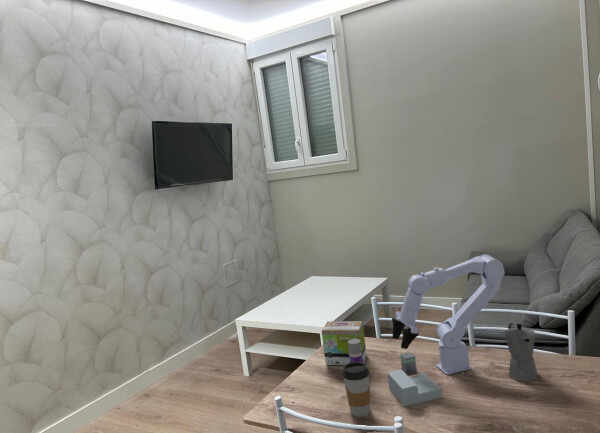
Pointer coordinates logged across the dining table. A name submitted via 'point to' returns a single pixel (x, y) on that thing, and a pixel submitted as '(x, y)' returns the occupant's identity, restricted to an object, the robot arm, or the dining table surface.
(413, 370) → the column
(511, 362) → the coffeepot
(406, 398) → the stepped stand
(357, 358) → the container
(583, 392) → the dining table surface
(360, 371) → the coffee cup
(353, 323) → the tea box
